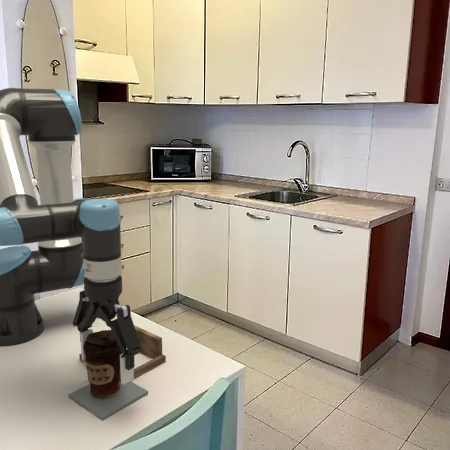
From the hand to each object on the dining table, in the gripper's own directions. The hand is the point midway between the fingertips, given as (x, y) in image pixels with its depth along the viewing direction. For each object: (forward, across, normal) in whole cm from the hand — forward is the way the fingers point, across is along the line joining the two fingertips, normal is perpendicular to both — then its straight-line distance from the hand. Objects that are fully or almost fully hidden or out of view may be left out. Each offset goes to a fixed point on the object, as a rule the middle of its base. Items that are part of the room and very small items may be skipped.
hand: (106, 369), depth 100 cm
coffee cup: (+6, -1, 0) cm, 6 cm away
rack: (+6, -9, +11) cm, 15 cm away
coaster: (+6, 0, 0) cm, 6 cm away
